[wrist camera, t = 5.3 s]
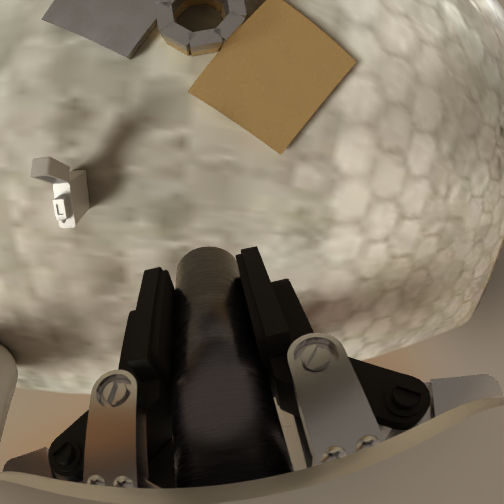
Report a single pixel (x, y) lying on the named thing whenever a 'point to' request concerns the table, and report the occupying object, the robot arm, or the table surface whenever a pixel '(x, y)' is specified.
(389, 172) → the table surface
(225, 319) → the dark round-topped peg
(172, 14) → the hinge
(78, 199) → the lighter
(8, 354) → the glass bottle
